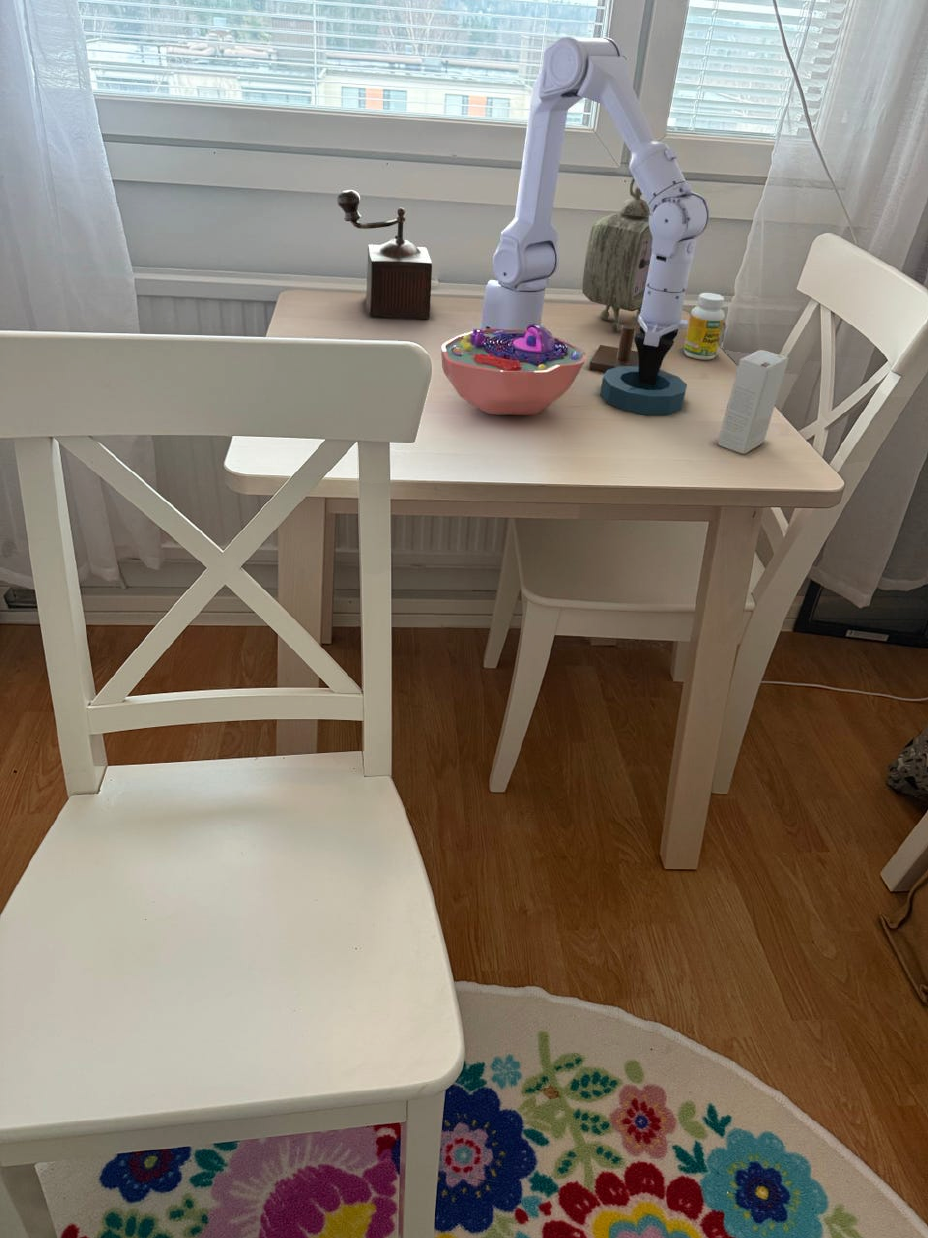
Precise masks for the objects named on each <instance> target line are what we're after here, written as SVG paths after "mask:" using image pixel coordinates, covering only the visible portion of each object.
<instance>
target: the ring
mask: <svg viewBox="0 0 928 1238" xmlns="http://www.w3.org/2000/svg"><path fill="white" fill-rule="evenodd" d="M687 386H688V384H687V383H686V382H685V381H684V380H683V379H681V378H680V376H678V375H675V374H673V373H670V372H668V371H664V370H662V369H660V370H659V372H658V375H657V377H656V379H655V382H654V384H653V385H649V384H644V383H639V366H620V367H616V368H613V369H609V370H607V371H606V372H604V374H603V377H602V381H601V387H600V393H599V396H600V397H601V398H602V400H604V402H605V403H606V404H608V405H610V406H612V407H615V408H617V409H620V410H622V411H624V412H629V413H634V414H639V415H645V416H668V415H671V414H674V413H677V412H679V411H681V410H682V408H683V405H684V400H685V396H686V392H687Z"/></svg>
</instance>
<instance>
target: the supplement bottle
mask: <svg viewBox="0 0 928 1238" xmlns="http://www.w3.org/2000/svg"><path fill="white" fill-rule="evenodd" d="M697 299H698V300H697V304H698V305H696V306H695V307H693V308H692V310H691V313H690V316H689V317H690V318H689V321H688V326H687V332H686V337H685V342H684V347H683V353H684V354H685V355H686V356H687V357H689V358H692V359H696V360H703V361H705V360H706V361H707V360H713V359H714V358H715V357H716V356H717V351H718V348H719V344H720V339H721V335H722V329H723V326H724V322H725V317H726V314H725V311H724V310H723V309H722V308H723V306H724V302H725V297H724V296H723V295H721V294H717V293H713V292H701V293H699V295H698V298H697Z"/></svg>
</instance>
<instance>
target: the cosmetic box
mask: <svg viewBox="0 0 928 1238" xmlns="http://www.w3.org/2000/svg"><path fill="white" fill-rule="evenodd" d="M788 362H789V357H787V356H784V355H781V354H777V353H774V352H771V351H767V350H763V349H758V350H756V351H755V352H753V353H751V354H748V355H746V356H744V357H742V358H740V359H739V362H738V367H737V370H736V373H735V378H734V380H733V384H732V388H731V392H730V396H729V399H728V403H727V406H726V411H725V413H724V417H723V421H722V424H721V429H720V433H719V435H718V439H717V445H718V446H721V447H723V448H725V449H727V450H730V451H733V452H735V453H736V452H737V453H739V454H743V455H746V454H747V453H749V452H750V451H751V450H753V449H755V448H757V447H758V446H759V445H761V444H763V443H764V442H765V441H766V437H767V433H768V431H769V427H770V423H771V420H772V416H773V413H774V410H775V406H776V403H777V399H778V396H779V392H780V389H781V385H782V382H783V380H784V375H785V373H786V369H787V365H788Z"/></svg>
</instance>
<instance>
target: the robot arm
mask: <svg viewBox="0 0 928 1238" xmlns="http://www.w3.org/2000/svg"><path fill="white" fill-rule="evenodd" d="M542 59H543V60H542V66H541V69H540V72H539V74H538V76H537V78H536V80H535V82H534V84H533V86H532V89H531V95H530V102H529V108H528V109H529V110H528V117H527V125H526V133H525V140H524V146H523V153H522V154H523V155H522V162H521V170H520V177H519V184H518V192H517V200H516V207H515V215H514V218H513V219H512V221H511V222H510V223H508V225H507V226H506V227H505V228H504V229H503V230H502V231H501V233H500V236H499V243H498V245H497V247H496V249H495V251H494V253H493V255H492V261H491V262H492V271H493V274H494V276H495V278H496V279H490V280H488V282H487V284H486V287H485V290H484V295H483V299H482V308H481V309H482V311H481V321H480V330H483V329H505V330H526V329H527V327H528V325H530V324H538V325H541V326H542V318H543V312H544V311H543V310H544V303H545V295H546V287H547V286H548V285H549V281H550V278H551V277H553V276H554V274H555V273H556V271H557V269H558V267H559V261H560V257H559V251H558V237H559V234H558V232H557V230H556V229H555V227H554V226H553V225H552V214H553V209H554V201H555V197H556V190H557V183H558V176H559V169H560V164H561V158H562V157H561V156H562V150H563V144H564V139H565V138H564V137H565V131H566V125H567V117H568V113H569V109H571V108H572V107H573V106H575V105H576V104H577V103H579V102H580V101H582V100H583V99H586V100H589V101H592V102H595V103H598V104H600V105H602V106H603V107H604V109H605V111H606V113H607V114H608V116H609V117H610V119H611V121H612V123H613V124H614V126H615V128H616V130H617V131H618V133H619V135H620V136H621V138H622V140H623V141H624V144H625V145H626V146H627V148H628V150H629V152H630V153H631V159H630V163H629V172H630V173H631V175H632V178H633V177H634V179H635V183H636V185H637V187H639V189H640V191H641V193H642V195H641V196H642V197H643V200H644V201H646V203H647V205H648V207H649V209H650V213H651V214H650V215H649V228H650V232H651V234H652V238H653V241H652V247H651V248H652V254H651V259H650V264H649V270H648V275H647V281H646V286H645V291H644V297H643V302H642V308H641V313H640V314H639V316H638V317H637V322H638V323H639V328H638V330H639V332H638V331H635V333H634V338H633V342H634V344H635V347H636V351H638V359H639V383H644V384H649V385H653V384H654V382H655V379H656V377H657V375H658V372H659V370H661V367H662V364H663V361H664V359H665V357H666V355H667V354H668V353H669V351H670V350H671V349H672V347H673V346H674V345H675V338H676V337H677V336H678V334H679V331H680V330H679V329H683V330H684V329H688V325H689V321H688V320H686V319H681V317H682V311H683V308H684V304H685V303H684V302H685V298H686V293H687V288H688V283H689V279H690V273H691V271H692V270H691V269H692V264H693V259H694V255H695V249H696V245H697V241H698V238H697V237H699V236H701V235H702V234H703V233H704V232H705V230H706V229H707V227H708V225H709V220H710V211H709V206H708V203H707V200H706V198H705V197H704V196H703V195H701V194H699V193H697V192H694V191H693V188H692V186H691V184H690V183H689V182H687V180H686V178H685V175H684V174H683V173H682V170H681V169H680V167H679V164H678V162H677V161H676V159H677V158H678V154H677V152H676V150H675V149H674V148H670V146H669V145H668V143H666V142H661V141H658V140H656V139H655V137H654V134H653V131H652V129H651V127H650V125H649V122H648V120H647V117H646V115H645V112H644V111H643V108H642V106H641V103H640V102H639V99H638V96H637V94H636V91H635V89H634V87H633V84H632V81H631V80H630V76H629V72H630V71H629V62H628V61H627V60H626V58H625V57H624V56H623V54H622V50H621V48H620V46H619V45H618V43H617V42H616V41H615V40H614V39H612V38H610V37H599V38H594V37H593V38H592V37H591V38H589V37H588V38H587V37H574V36H562V37H560V38H559V39H557V40H556V41H554V42H553V43H552V44H551V45H549V46H548V47H547V48H546V49H545V50H544V52H543V58H542Z"/></svg>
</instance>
